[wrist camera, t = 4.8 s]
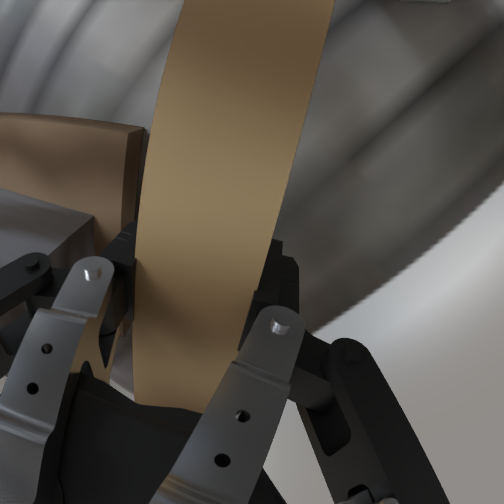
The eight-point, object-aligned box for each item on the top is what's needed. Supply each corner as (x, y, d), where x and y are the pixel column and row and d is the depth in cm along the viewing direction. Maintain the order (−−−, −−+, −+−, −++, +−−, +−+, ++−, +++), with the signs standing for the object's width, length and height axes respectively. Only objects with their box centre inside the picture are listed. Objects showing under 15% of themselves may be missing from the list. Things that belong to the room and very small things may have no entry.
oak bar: (245, -33, 8) (228, -99, 4) (329, -16, 8) (354, -79, 4) (163, 397, 18) (140, 457, 13) (214, 411, 18) (200, 474, 13)
